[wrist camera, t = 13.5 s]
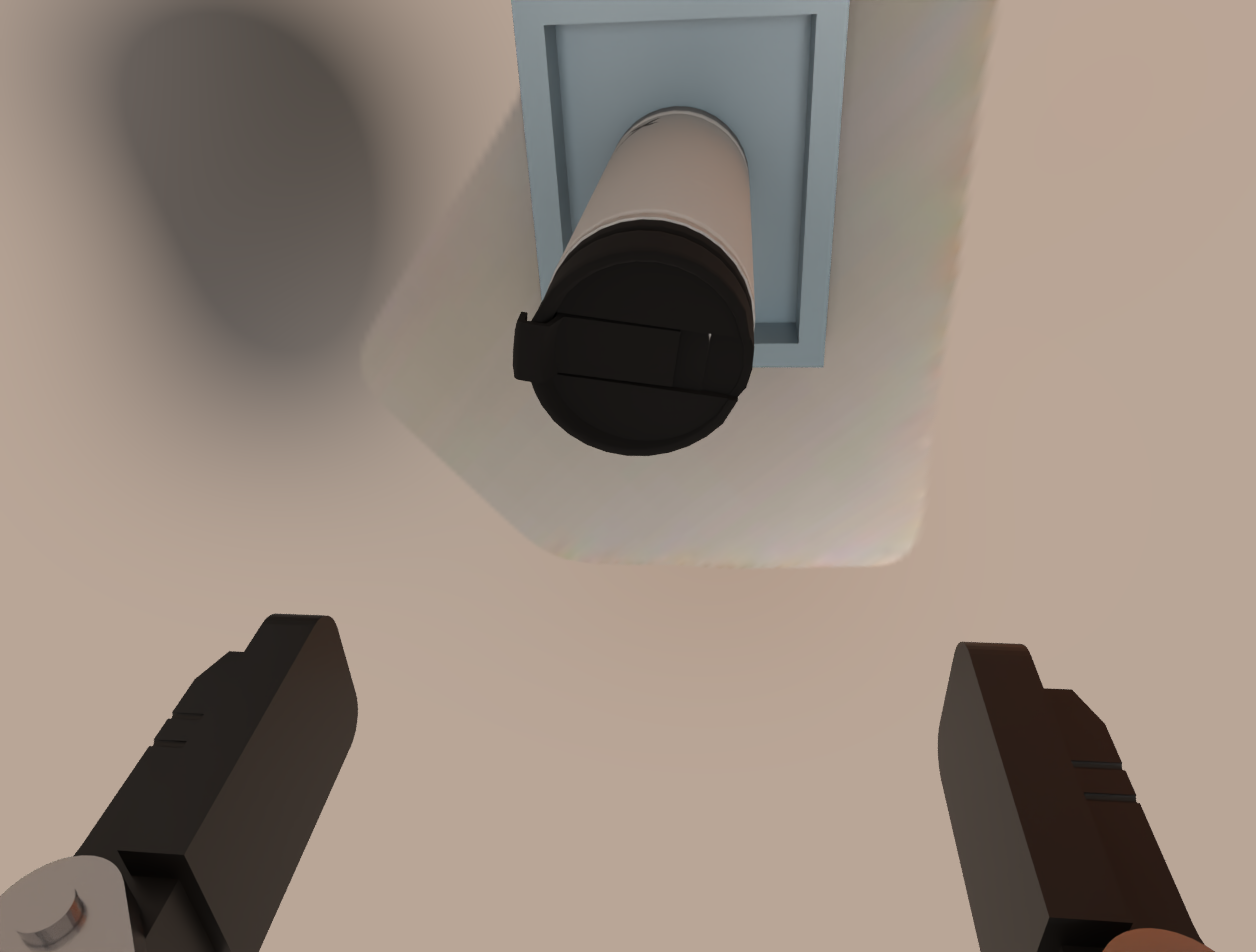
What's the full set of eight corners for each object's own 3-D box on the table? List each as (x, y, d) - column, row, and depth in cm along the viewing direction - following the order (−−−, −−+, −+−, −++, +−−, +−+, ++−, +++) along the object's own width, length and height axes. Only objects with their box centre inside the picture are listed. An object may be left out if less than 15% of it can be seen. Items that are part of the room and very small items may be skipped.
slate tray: (527, -15, 39) (510, -8, 36) (842, -30, 37) (851, -24, 34) (560, 337, 47) (548, 367, 44) (817, 337, 46) (823, 367, 43)
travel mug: (610, 93, 40) (516, 235, 23) (761, 116, 39) (780, 275, 23) (595, 235, 43) (503, 450, 26) (734, 256, 43) (733, 486, 26)
